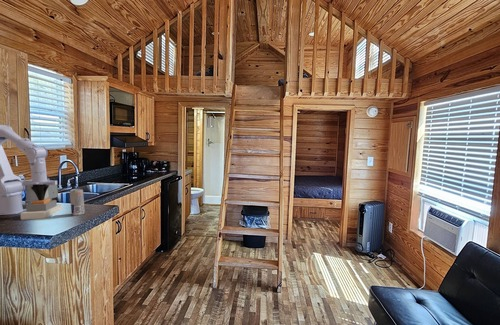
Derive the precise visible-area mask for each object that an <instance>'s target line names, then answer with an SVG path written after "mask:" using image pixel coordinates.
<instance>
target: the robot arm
mask: <svg viewBox="0 0 500 325" xmlns="http://www.w3.org/2000/svg"><path fill="white" fill-rule="evenodd" d="M8 140H9V141H10V142H11V143H14V144H15V147H16V148H17V149H18V150H20V151H21V152H23V153H24V154H25V157H26V158H27V160H28V164H29V165H30V176H31V179H32V181H25V180H22V179H21V177H20V176H18V175H16V174H14V172H13V169H12V167H11V164H10V162H9V160H8V157H7V155H6V152H5V150H4V147H3V144H5V143H7V141H8ZM48 155H49V151H48V149H47V148H46V147H45V146H39V145H38V144H36V143H34V142H32V141H31V139H30V138H27V137H26V138H24V137H21V136H20V135H19V134H18V133H16V132H15V131H14V130H13V127H12V126H10V125H9V124H0V216H2V215H5V216H6V215H17V214H20V213H22V212H25V211H26V208H24V207H23V198H22V194H24V192H25V191H26V190H25V187H26V186H33V187H31V189H32V190H33V191H34V192H35V194H36V196H37V198H38V200H39V201H41V200H44V198H45V194H46V191H47V189H48V187H49V185H57V186H58V180H52V179H51V180H47V178H48V177H47V176H48V175H47V174H48V173H47V166H46V165H47V162H46V158H47V157H48ZM23 181H24V182H23Z"/></svg>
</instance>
